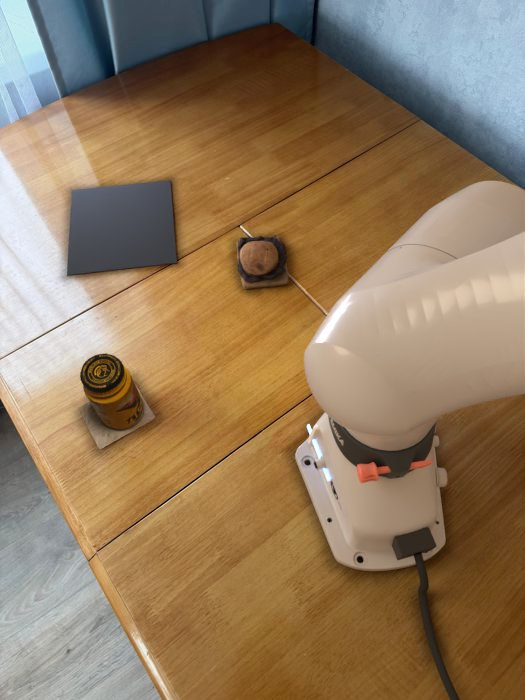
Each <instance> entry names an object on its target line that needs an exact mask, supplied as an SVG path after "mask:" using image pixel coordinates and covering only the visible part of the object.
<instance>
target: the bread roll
mask: <svg viewBox="0 0 525 700" xmlns="http://www.w3.org/2000/svg"><path fill="white" fill-rule="evenodd" d="M235 246H236V259H237V272H238V274H239V278H240V281H241V285H242V288H243V289H244V290H249V289H258V288H264V287H277V286H284V285H285V286H286V285H289V281H290V280H289V279H290V278H289V271H288V270H289V269H288V263H287V260H288V256H287V247H286V245H285V243H284V242H281V239H280V237H279V236H277V235H276V234H275V235H273V236H267V237H265V236H262V235H259V236H256V237H255V236H254V237H253V236H251V237H249V236H248V237H240V238H239V239H238V240H237V241H236V244H235Z"/></svg>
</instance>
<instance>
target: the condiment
mask: <svg viewBox="0 0 525 700" xmlns="http://www.w3.org/2000/svg"><path fill="white" fill-rule="evenodd" d="M79 374H80V375H79V379H80V382H81V384H82V388H83V393H84V395H85V397H86V398H87V400H88V401H89V402H86V403H83V404H82V405H81V406H78V407H77V410H78V412H79V414H80V415H81V417H82V420H83V421H84V423H85V425H86V427H87V429H88V431H89V433H90V434H91V437H92V438H93V440H94V442H95V444H96V446H97V448H98V449H99V450H102V449H104V448H106V447H107V446H109V445H111V444H112V443H114V442H116V441H118V440H120V439H121V438H123V437H124V436H125V437H126V436H127V435H128V434H130V433H132V432H134V431H136V430H137V429H139V428H141V427H144V426H145V425H146V424H147V423H150V422H152V421H154V419H156V416H155V414H154V412H153V410H152V409H151V407H150V406H149V404H148V402H147V400H146V399H145V398H144V396H143V395H142V393H141V391H140V389H139V388H138V386H137V384H136V383H135V380H134V378H133V376H132V375H131V372H130V370H129V369H128V368H127V366H125V365H124V364H123V361H122V360H121V359H120V358H119V357H117V356H115V355H113V354H110V353H107V352H106V353H97V354H94V355H93V356H90V357H89V358H88V359H87V360H86V361H85V362H84V363H83V365H82V366H81V369H80V373H79Z"/></svg>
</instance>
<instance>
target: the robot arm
mask: <svg viewBox="0 0 525 700" xmlns="http://www.w3.org/2000/svg"><path fill="white" fill-rule="evenodd" d="M303 367H304V368H303V370H304V375H305V379H306V382H307V385H308V388H309V390H310V392H311V394H312V396H313V398H314V400H315V401H316V403H317V405H318V406H319V407H320V408H321V410H322V411H323V412H324V413H323V414H322V415H321V416H320V418H319V419H318V420H317V421H316V422H315V424H314V425H313V427H311V425H310V423H308V424H307V425H306V428H307V432H308V433H309V436H308V438H306V440H304V441H303V442H302V443H301V444H300V445H299V446H298V447H297V449H296V451H295V453H294V459H295V463H296V465H297V467H298V470H299V473H300V475H301V477H302V480H303V482H304V485H305V487H306V488H305V489H306V490H307V492H308V495H309V498H310V501H311V503H312V506H313V508H314V510H315V513H316V515H317V518H318V520H319V522H320V525H321V528H322V531H323V533H324V535H325V538H326V540H327V543H328V545H329V548H330V551H331V554H332V556H333V557H334V559H335V561H336V562H337V563H338V564H340V565H343V566H345V567H347V568H349V569H354V570H357V571H363V572H385V571H395V570H399V569H404V568H405V569H406V568H409V567H413V566H416V569H417V573H418V578H419V585H418V588H417V593H418V601H419V602H418V603H419V607H420V613H421V619H422V623H423V628H424V631H425V635H426V640H427V642H428V646H429V649H430V653H431V655H432V658H433V661H434V664H435V667H436V669H437V673H438V675H439V678H440V680H441V683H442V684H443V687H444V689H445V692H446V694H447V696H448V697H449V700H461V698H460V697H459V695H458V693H457V691H456V689H455V687H454V684H453V682H452V680H451V677H450V675H449V672H448V670H447V668H446V664H445V662H444V659H443V657H442V654H441V650H440V647H439V644H438V641H437V637H436V634H435V631H434V627H433V624H432V618H431V612H430V607H429V602H428V594H427V593H428V590H429V588H430V584H429V583H430V582H429V576H428V571H427V567H426V564H425V562H426V561H427V560H429V559H431V558H433V557H434V556H435V555H437V554H438V552H440V551H441V550H442V548H443V547H444V546H445V544H446V542H447V541H446V530H445V521H444V512H443V505H442V496H441V489H440V488H445V487H447V485H448V472H447V470H446V469H445V467H438V464H437V455H436V448H437V447H439V445H440V438H439V436H438V435H435V434H436V433H437V426H438V419H439V418H440V417H442V416H445V415H447V414H450V413H452V412H453V413H454V412H455V411H458V410H461V409H466V408H468V407H473V406H476V405H480V404H484V403H488V402H492V401H497V400H501V399H505V398H511V397H515V396H520V395H522V396H523V395H525V190H524V189H523V188H521V187H520V186H517V185H514V184H511V183H509V182H506V181H500V180H482V181H478V182H475V183H472V184H470V185H468V186H466V187H464V188H462V189H460V190H459V191H456V192H455V193H453V194H451V195H450V196H448V197H446V198H445V199H443V200H442V201H440V202H438V203H436V204H435V205H433V206H431V207H430V208H429V209H428V210H426V212H424V214H423V215H422V216H421V217H420V218H419V219H418V220H417V221H416V222H415V223H413V225H412V226H410V228H409V229H407V231H405V233H403V234H402V236H400V238H398V240H397V241H396V242H395V243H393V245H392V246H391V247H389V249H387V251H385V252H384V254H383V255H382V256H381V257H379V259H378V260H376V262H375V263H374V264H373V265H372V266H371V267H370V268H369V269H368V270H367V271H366V272H364V274H363V275H362V276H360V278H359V279H358V280H356V282H354V284H352V286H351V287H350V288H349V289H347V290H346V292H345V293H344V294H342V295H341V297H340V298H339V299H337V301H336V302H335V303H334V304H333V305H332V307H331V308H330V310H329V311H328V313H327V314H326V316H325V318H324V319H323V321H322V322H321V323H320V325H319V327H318V328H317V330H316V332H315V333H314V334H313V336H312V338H311V340H310V341H309V343H308V345H307V346H306V348H305V350H304V353H303ZM305 462H309V463H310V464H309V465H307V464H306V463H305ZM329 520H330V522H329ZM358 558H361V559H362V562H358Z"/></svg>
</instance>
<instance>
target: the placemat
mask: <svg viewBox="0 0 525 700" xmlns="http://www.w3.org/2000/svg"><path fill="white" fill-rule="evenodd" d="M70 195H71V196H70V213H69V214H70V215H69V229H68V230H69V231H68V232H69V233H68V246H67V247H68V249H67V265H66V276H77V275H86V274H94V273H95V274H96V273H104V272H112V271H120V270H130V269H139V268H147V267H148V268H149V267H156V266H157V267H158V266H167V265H176V264H178V257H177V246H176V245H177V244H176V234H175V233H176V231H175V220H174V219H175V218H174V208H173V195H172V182H171V180H170V179H167V180H157V181H147V182H140V183H139V182H138V183H137V182H136V183H129V184H128V183H127V184H118V185H108V186H99V187H88V188H77V189H71V194H70Z"/></svg>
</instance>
